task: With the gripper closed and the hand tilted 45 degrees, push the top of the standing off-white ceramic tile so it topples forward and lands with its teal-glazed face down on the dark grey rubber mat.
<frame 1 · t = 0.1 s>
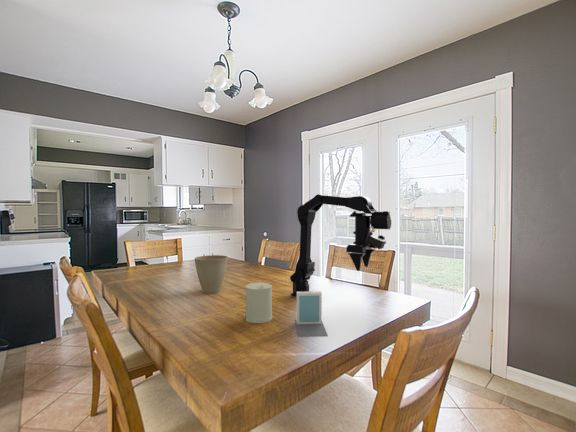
hand: (362, 268, 113), 15 cm above the table, tool pointing down, fingers open, 9 cm apart
can: (259, 319, 100), on the table
mat: (310, 328, 91), on the table
plant pot: (211, 292, 134), on the table
tile: (308, 322, 95), resting on mat
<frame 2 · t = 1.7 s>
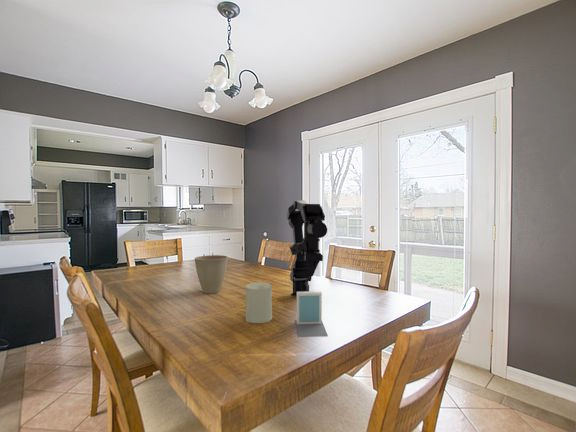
hand: (311, 275, 112), 12 cm above the table, tool pointing down, fingers closed
nothing on the table moved.
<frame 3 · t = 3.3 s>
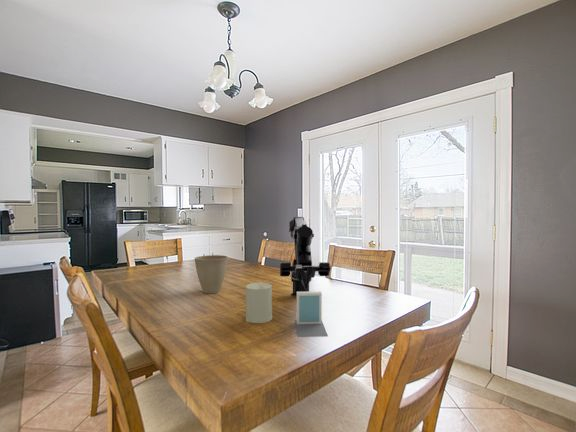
hand: (306, 289, 103), 9 cm above the table, tool tilted 45°, fingers closed
nothing on the table moved.
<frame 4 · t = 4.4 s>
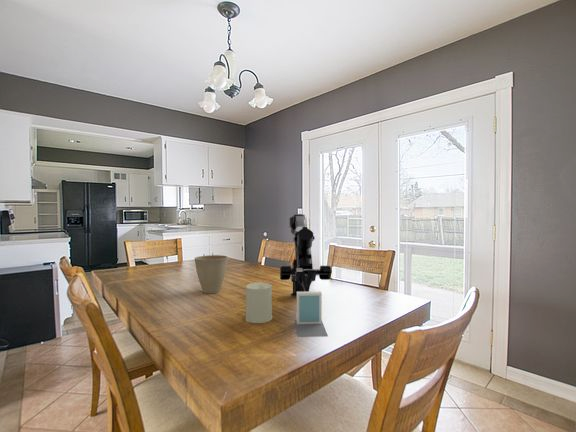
hand: (307, 293, 101), 8 cm above the table, tool tilted 45°, fingers closed
nothing on the table moved.
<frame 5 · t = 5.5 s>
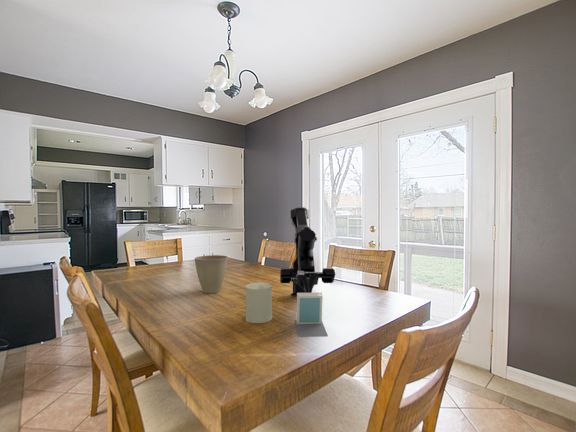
hand: (309, 297, 95), 9 cm above the table, tool tilted 45°, fingers closed
tile: (308, 322, 95), point 1 cm above the table, tilted 12°, touching mat
everything else where it was.
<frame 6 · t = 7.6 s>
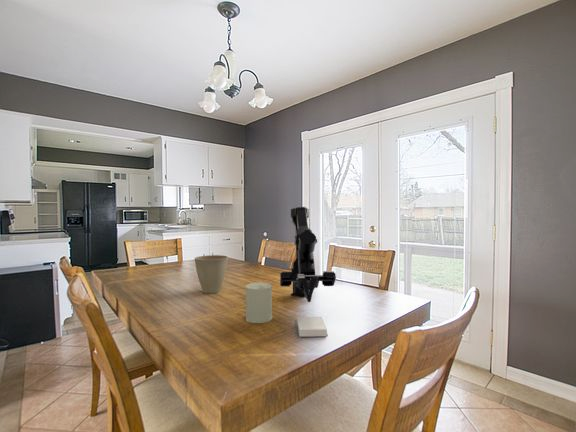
hand: (309, 301, 94), 8 cm above the table, tool tilted 45°, fingers closed
tile: (309, 320, 94), point 2 cm above the table, tilted 90°, touching mat
everything else where it was.
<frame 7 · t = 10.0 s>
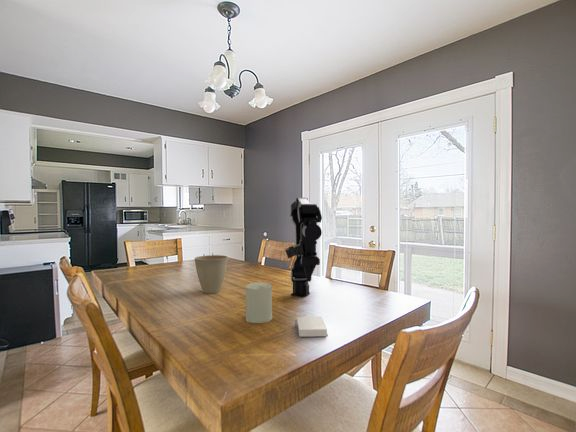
hand: (308, 279, 107), 12 cm above the table, tool pointing down, fingers closed
nothing on the table moved.
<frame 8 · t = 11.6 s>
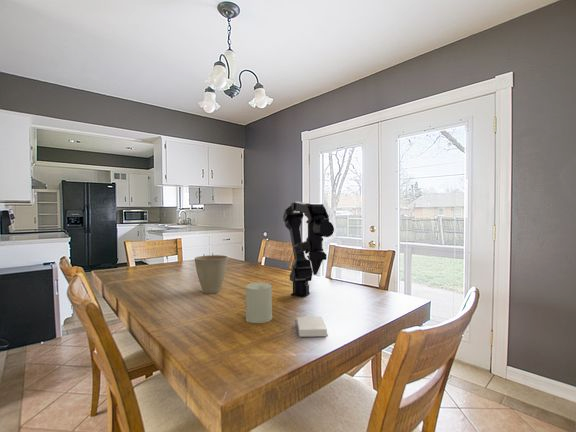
hand: (315, 274, 115), 12 cm above the table, tool pointing down, fingers closed
nothing on the table moved.
at the end: tile tilted 90°; tile 2.9 cm from the mat (horizontally); tile point 1.7 cm above the table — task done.
